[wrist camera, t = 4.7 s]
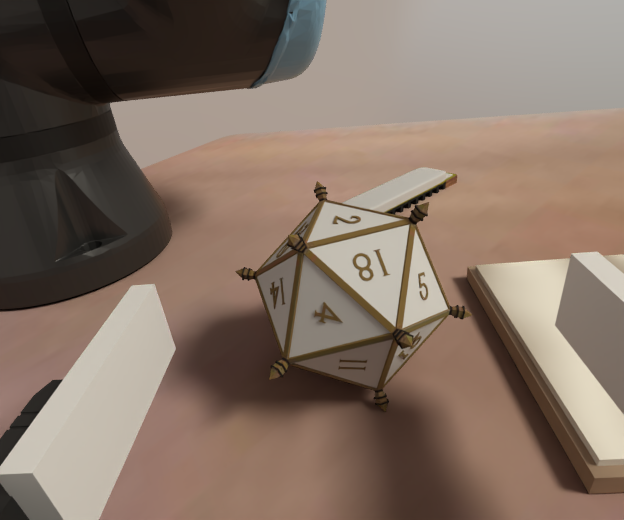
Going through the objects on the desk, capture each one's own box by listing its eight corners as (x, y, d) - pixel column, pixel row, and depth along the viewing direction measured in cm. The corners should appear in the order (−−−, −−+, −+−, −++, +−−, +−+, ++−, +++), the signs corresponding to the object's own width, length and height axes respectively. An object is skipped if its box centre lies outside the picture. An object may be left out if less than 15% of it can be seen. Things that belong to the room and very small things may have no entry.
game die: (349, 453, 20) (207, 424, 12) (292, 309, 25) (168, 225, 17) (524, 356, 18) (488, 250, 10) (423, 224, 23) (350, 88, 16)
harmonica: (428, 181, 41) (428, 161, 40) (456, 187, 39) (458, 166, 38) (319, 234, 33) (317, 211, 32) (348, 246, 31) (347, 220, 30)
